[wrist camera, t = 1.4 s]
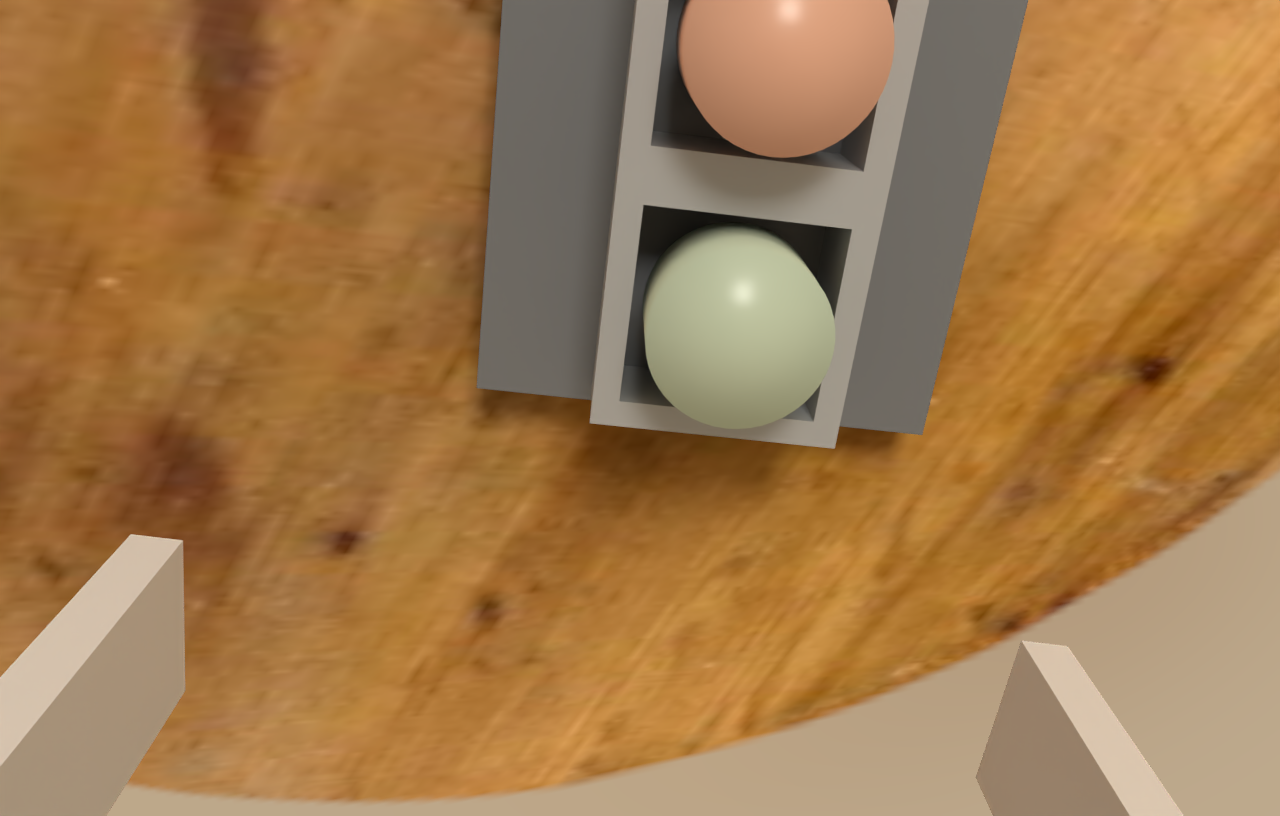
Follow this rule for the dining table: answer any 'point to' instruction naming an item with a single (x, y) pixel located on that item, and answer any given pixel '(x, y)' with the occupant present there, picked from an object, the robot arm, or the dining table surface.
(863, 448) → the dining table surface
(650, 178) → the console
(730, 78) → the button terracotta
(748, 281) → the button sage
